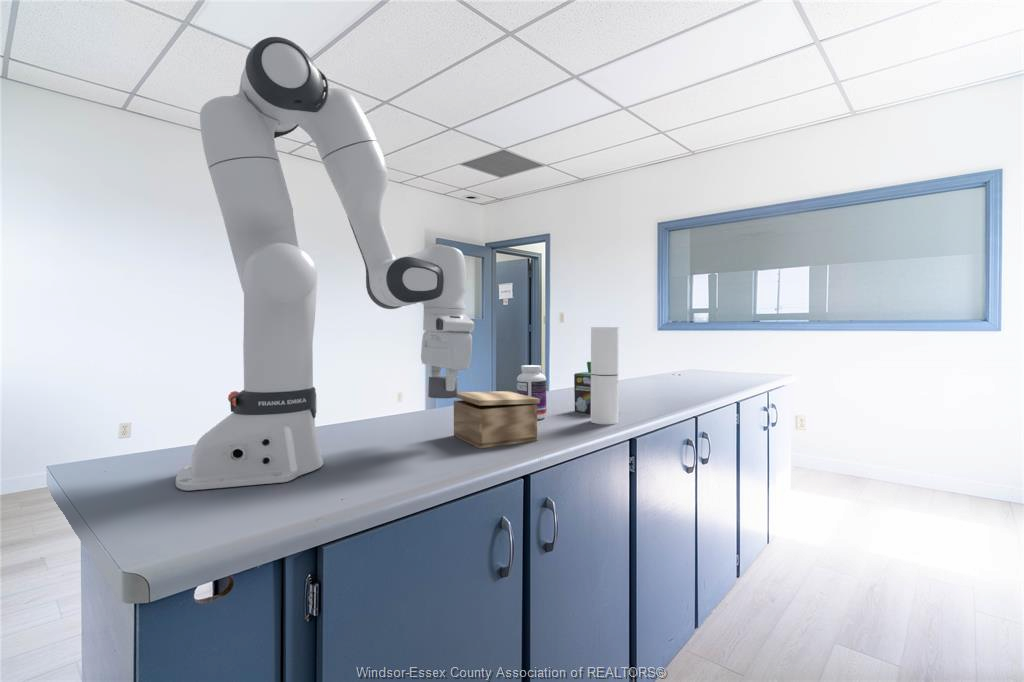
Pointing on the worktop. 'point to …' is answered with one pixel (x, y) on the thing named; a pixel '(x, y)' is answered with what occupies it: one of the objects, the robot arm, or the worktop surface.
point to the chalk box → (583, 390)
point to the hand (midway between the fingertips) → (442, 388)
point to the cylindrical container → (604, 374)
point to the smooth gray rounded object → (440, 388)
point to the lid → (496, 398)
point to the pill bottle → (533, 386)
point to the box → (495, 423)
